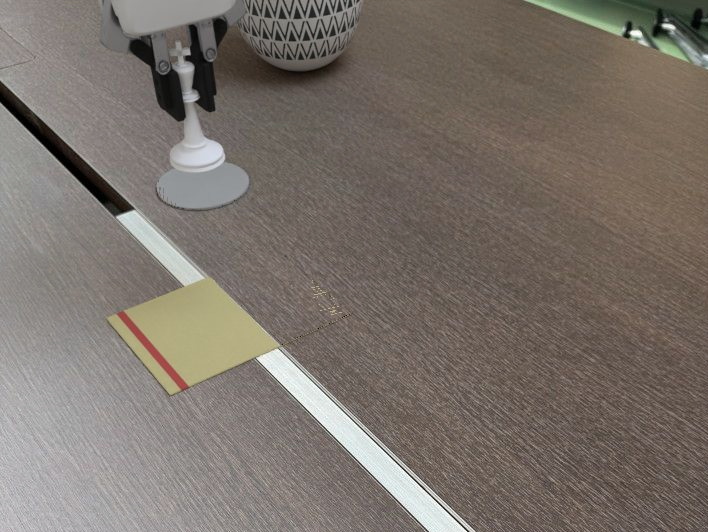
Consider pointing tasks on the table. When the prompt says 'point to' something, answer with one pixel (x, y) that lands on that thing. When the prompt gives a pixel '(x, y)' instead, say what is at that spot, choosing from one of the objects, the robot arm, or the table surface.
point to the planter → (299, 30)
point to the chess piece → (192, 125)
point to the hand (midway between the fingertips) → (189, 109)
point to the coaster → (204, 187)
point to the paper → (192, 334)
